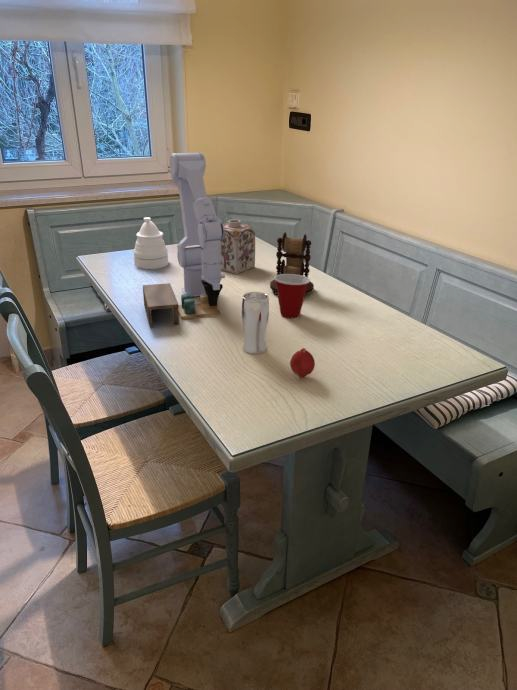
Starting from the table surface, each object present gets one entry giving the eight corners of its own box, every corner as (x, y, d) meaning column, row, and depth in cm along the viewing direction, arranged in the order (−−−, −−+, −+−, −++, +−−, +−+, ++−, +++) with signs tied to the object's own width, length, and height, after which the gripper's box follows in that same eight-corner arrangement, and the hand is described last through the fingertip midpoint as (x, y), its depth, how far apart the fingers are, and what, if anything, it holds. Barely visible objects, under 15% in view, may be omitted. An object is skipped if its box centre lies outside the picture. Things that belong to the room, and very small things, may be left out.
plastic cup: (313, 311, 163) (315, 274, 158) (300, 324, 155) (303, 285, 149) (280, 305, 167) (282, 269, 162) (267, 317, 159) (268, 279, 153)
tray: (213, 304, 167) (213, 289, 165) (220, 315, 160) (220, 300, 157) (176, 308, 164) (175, 293, 162) (181, 319, 156) (180, 303, 154)
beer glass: (264, 356, 136) (266, 302, 129) (238, 353, 137) (239, 299, 130) (269, 344, 142) (271, 292, 135) (244, 342, 143) (245, 290, 136)
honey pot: (165, 269, 198) (162, 221, 190) (131, 268, 198) (126, 220, 190) (170, 259, 209) (168, 213, 201) (138, 258, 209) (134, 212, 201)
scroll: (316, 286, 184) (320, 230, 175) (308, 301, 171) (312, 241, 162) (275, 282, 187) (277, 226, 178) (265, 296, 174) (266, 236, 166)
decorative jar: (232, 261, 208) (232, 215, 200) (255, 267, 202) (256, 220, 194) (212, 268, 199) (211, 221, 191) (236, 275, 193) (236, 226, 185)
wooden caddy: (171, 302, 168) (170, 283, 165) (179, 325, 152) (178, 304, 149) (144, 304, 166) (142, 285, 163) (149, 327, 150) (148, 306, 147)
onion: (288, 371, 129) (289, 342, 125) (311, 370, 130) (313, 341, 126) (291, 383, 124) (293, 353, 120) (315, 382, 124) (317, 352, 121)
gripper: (230, 268, 151) (230, 311, 157) (219, 253, 163) (219, 294, 169) (205, 269, 149) (206, 314, 155) (196, 255, 162) (198, 296, 168)
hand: (212, 304), depth 162 cm, fingers closed on tray, 2 cm apart
